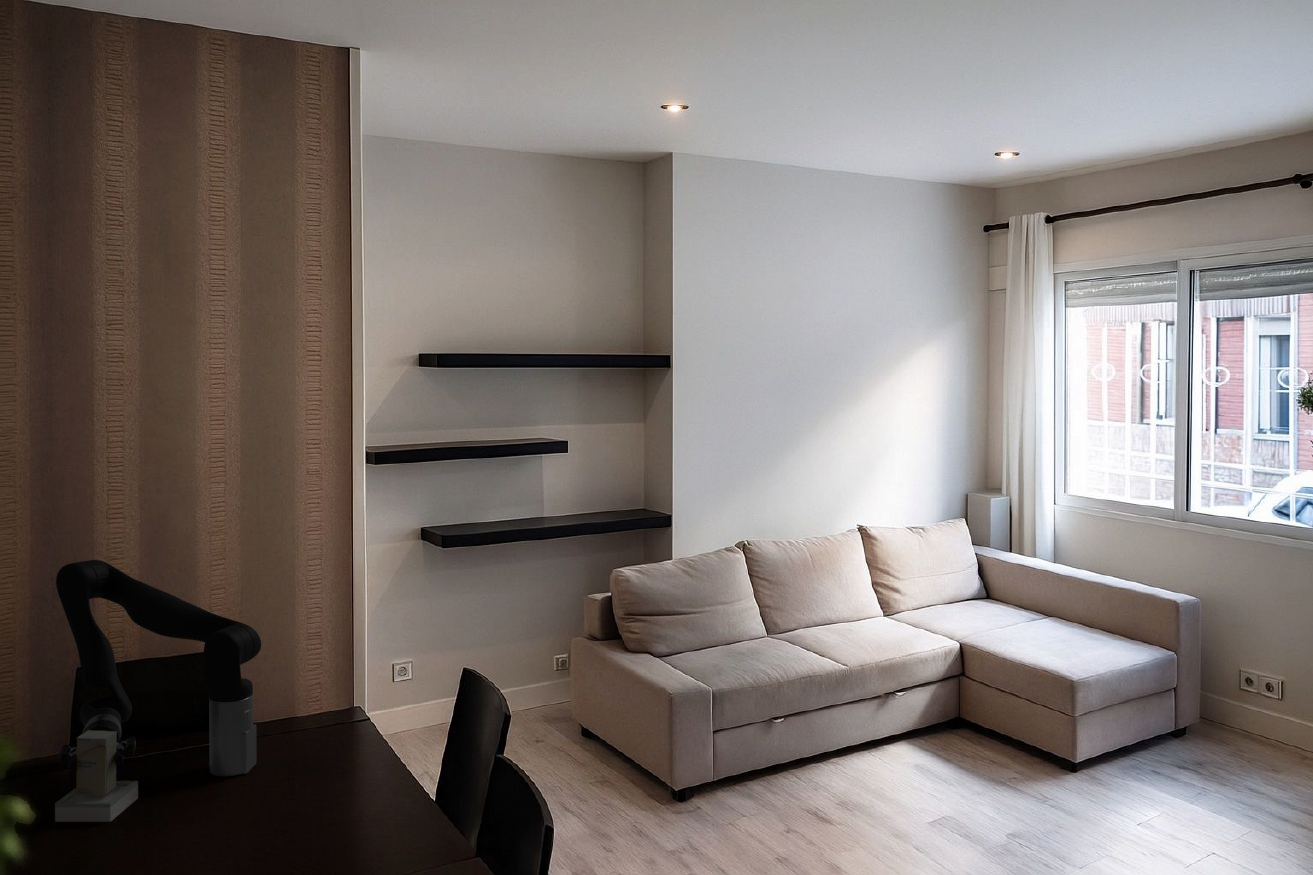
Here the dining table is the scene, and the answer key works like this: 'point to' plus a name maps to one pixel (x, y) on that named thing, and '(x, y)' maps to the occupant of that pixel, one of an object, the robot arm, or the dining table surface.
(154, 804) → the dining table surface
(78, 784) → the skincare box
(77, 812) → the shallow open tray
